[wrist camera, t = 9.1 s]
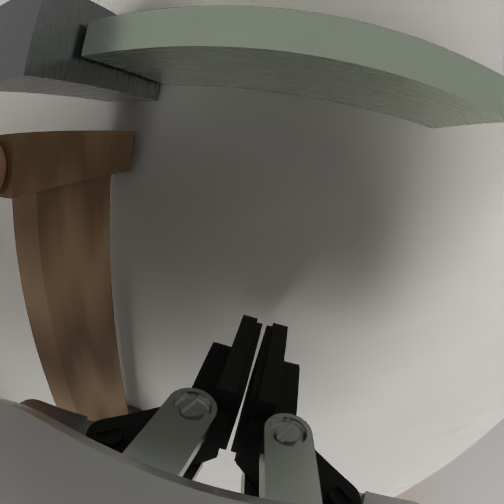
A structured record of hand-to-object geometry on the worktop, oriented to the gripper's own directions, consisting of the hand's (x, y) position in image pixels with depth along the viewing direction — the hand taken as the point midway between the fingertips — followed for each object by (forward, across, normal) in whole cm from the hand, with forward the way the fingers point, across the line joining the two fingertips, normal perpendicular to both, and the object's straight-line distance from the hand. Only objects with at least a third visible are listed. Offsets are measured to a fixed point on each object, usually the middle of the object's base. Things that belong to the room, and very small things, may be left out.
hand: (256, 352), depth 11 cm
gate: (+3, +8, +2) cm, 9 cm away
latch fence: (+4, +3, -10) cm, 11 cm away
